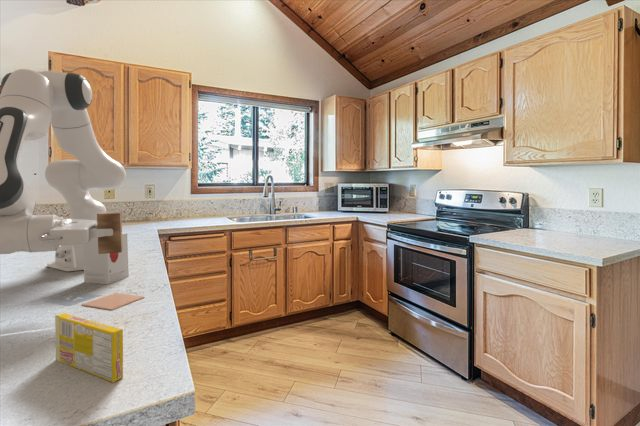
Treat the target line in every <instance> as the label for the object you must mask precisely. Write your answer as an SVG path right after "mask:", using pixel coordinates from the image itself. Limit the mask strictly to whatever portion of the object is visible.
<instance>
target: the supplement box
mask: <svg viewBox="0 0 640 426" xmlns="http://www.w3.org/2000/svg"><path fill="white" fill-rule="evenodd" d="M122 244H123V250H122V252H121V253H106V254H99V253H98V238H92V239H91V240H90V241H89V242H88V243H87V244H83V259H84V270H83V277H84V278H83V281H84V282H83V283H89V284H90V283H91V284H102V285H109V284H113V283H115V282H117V281H121V280H123V279H126V278H129V252H128V251H129V247H128V246H129V245H128V232H122Z"/></svg>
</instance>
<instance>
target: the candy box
mask: <svg viewBox="0 0 640 426" xmlns="http://www.w3.org/2000/svg"><path fill="white" fill-rule="evenodd" d="M54 325H55V328H54V329H55V332H54V333H55V361H58V362H60V363H62V364H65V365H67V366H70V367H73V368H75V369H78V370H80V371H83V372H85V373H88V374H90V375H93V376H96V377H98V378H101V379H103V380H105V381H108V382H111V383H112V384H114V383H116V382H118V381H120V380H121V379H123V378H124V340H123V339H124V330H123V329H121V328H118V327H115V326H111V325H107V324H104V323H100V322H98V321H97V322H96V321H93V320H90V319H86V318H84V317H79V316H75V315H72V314H69V313H64V312H63V313H60V314H56V315H55V317H54Z"/></svg>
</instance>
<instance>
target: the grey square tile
mask: <svg viewBox="0 0 640 426" xmlns="http://www.w3.org/2000/svg"><path fill="white" fill-rule="evenodd" d="M101 296H102V295H101V294H97V293H96V294H95V293H89V292H82V291H75V292H73V293H69V294H66V295H62V296H59V297H56V298H52V299H50V300H49V299H48V300H46V301H45V300H44V303H48V304H54V305H59V306H66V307H71V306H73V305H76V304H80V303H83V302H86V301H88V300H92V299H95V298H98V297H101Z"/></svg>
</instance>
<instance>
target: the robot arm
mask: <svg viewBox="0 0 640 426" xmlns="http://www.w3.org/2000/svg"><path fill="white" fill-rule="evenodd" d="M0 89H1V90H0V91H1V92H0V255H10V254H14V253H19V252H26V253H42V252H43V253H45V252H54V261H51V262H49V263H47V264H46V266H47V267H49V268H52V269H55V270H59V271H63V272H74V271H75V272H76V271H84V259H83V244H87V243H88V242H89V241H90V240H91V239H92V238H98V237H103V236H112V235H113V228H105V229H97V213H99V212H107V208H106V206H105V205H104V204H103V202H100V201H99V200H97V199H94V198H93V197H92V195H91V193H90V191H110V190H115V189H120V188H122V187H123V186H124V184H125V182H126V181H127V172H126V169H125V166H124V165H122V164H121V163H120V162H119V161H117V160H115V159H113V158H111V157H110V156H109V155H108V154H107V153H106V152H105V151H104V150H103V149H102V147H101V146H100V144H99V142H98V141H97V138H96V135H95V132H94V129H93V125H92V122H91V121H92V120H91V119H90V115H89V113H88V107H90V106H91V105H92V102H93V91H92V87H91V84H90V82H89V81H88V79H87V78H85V77H84V76H83V75H82V74H78V73H74V72H68V73H67V72H61V71H60V72H59V71H49V70H44V71H35V70H33V69H28V68H22V69H21V68H20V69H17V70H14V71H12V72H9V73H6V74H4V76H3V78H2V79H1V81H0ZM50 127H52V130H53V133H54V136H55V139H56V143H57V146H58V147H59V148H60V149H61V150H62V151H63V152H65V153H67V154H69V155H72V156H73V157H74V158H76V159H67V158H66V159H61V160H55V161H51V162H49V163H48V164H47V166H46V167H45V170H44V171H45V172H44V177H45V180H46V181H47V183H48V185H50V186H51V187H52V188H54V189H55V190H57V192H59V193H60V194H61V196H62V197H63V198H64V200H65V202H66V203H67V206H68V210H69V216H70V218H64V217H63V216H58V215H57V214H34V212H35V208H36V203H37V202H36V198H35V195H34V194H33V192H32V191H31V189H30V188H29V186H28V185H27V184H26V182H25V181H24V179H23V178H22V175H21V173H20V171H19V168H18V160H19V156H20V153H21V149H22V146H23V142H24V141H36V140H39V139H41V138H43V137H45V136H46V135H47V133H48V131H49V129H50Z"/></svg>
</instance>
